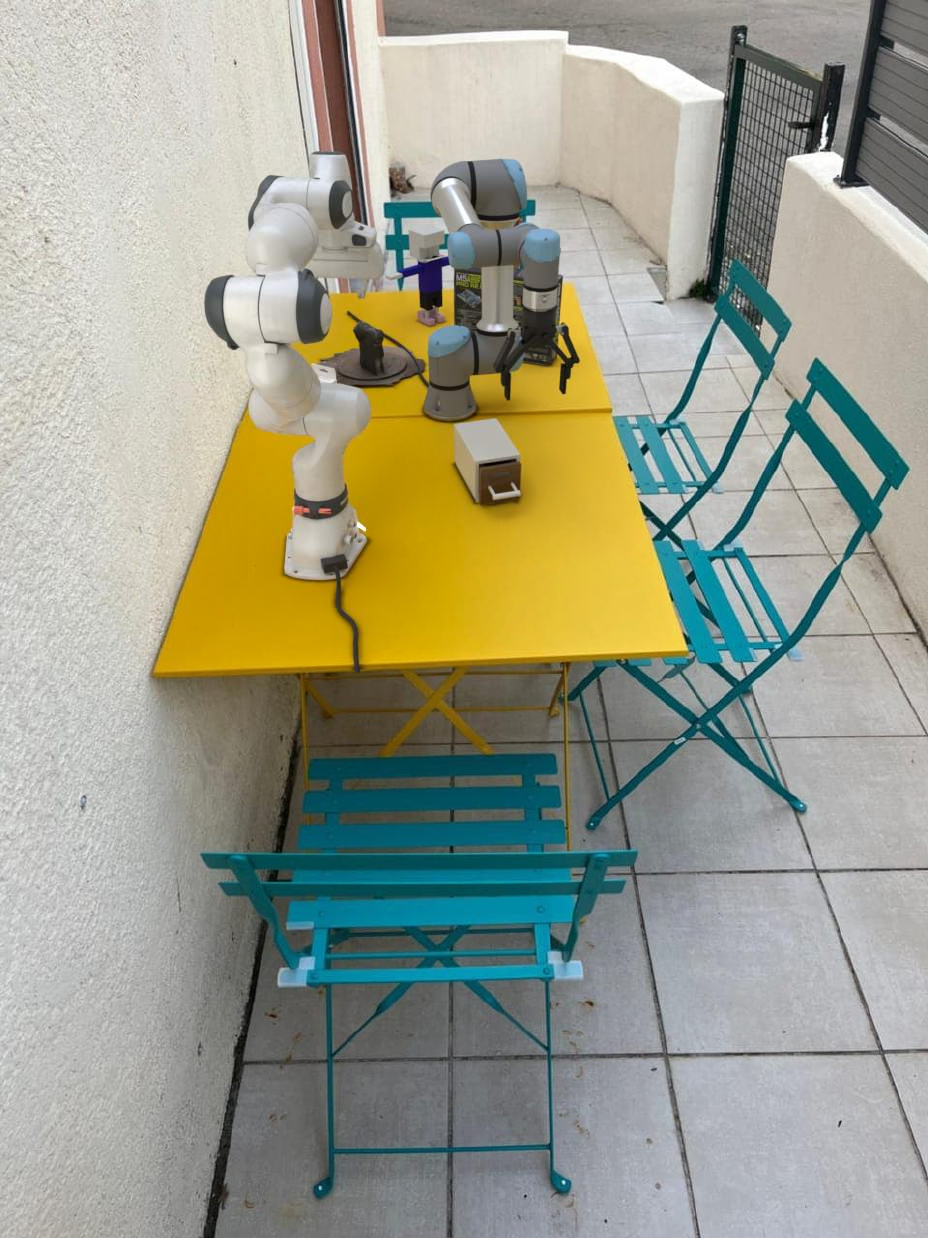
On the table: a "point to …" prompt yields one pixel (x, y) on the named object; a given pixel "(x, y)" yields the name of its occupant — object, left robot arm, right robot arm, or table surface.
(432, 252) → the toy
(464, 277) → the box
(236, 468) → the table surface
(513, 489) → the drawer
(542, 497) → the table surface
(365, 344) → the sculpture
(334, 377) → the ink box
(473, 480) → the cabinet
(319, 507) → the left robot arm
